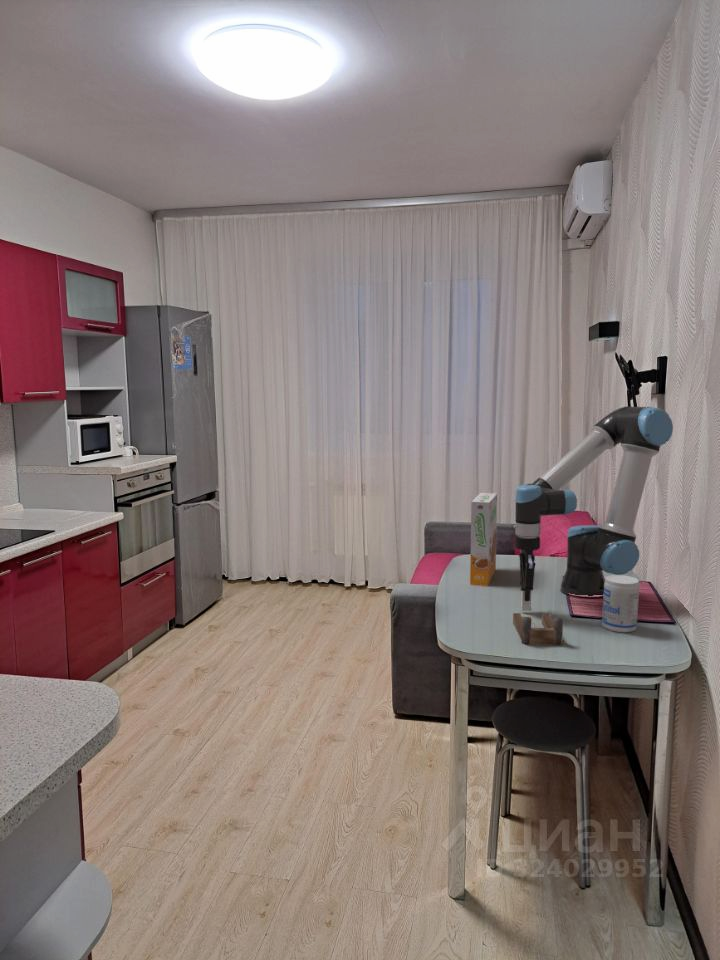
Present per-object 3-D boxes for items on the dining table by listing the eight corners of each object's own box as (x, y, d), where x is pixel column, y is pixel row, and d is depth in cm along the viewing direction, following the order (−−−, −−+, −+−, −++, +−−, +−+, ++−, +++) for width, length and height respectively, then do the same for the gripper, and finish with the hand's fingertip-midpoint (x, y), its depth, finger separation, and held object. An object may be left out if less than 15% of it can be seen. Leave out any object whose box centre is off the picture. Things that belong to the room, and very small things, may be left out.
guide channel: (549, 623, 207) (549, 600, 206) (563, 645, 189) (563, 620, 188) (512, 622, 207) (512, 600, 207) (522, 644, 190) (523, 619, 189)
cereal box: (487, 585, 247) (489, 502, 243) (470, 584, 248) (471, 501, 245) (495, 570, 268) (497, 493, 264) (479, 569, 270) (480, 492, 266)
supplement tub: (595, 627, 203) (597, 578, 201) (611, 620, 210) (613, 572, 208) (627, 636, 196) (630, 585, 194) (642, 628, 202) (645, 578, 201)
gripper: (511, 531, 220) (510, 603, 223) (519, 540, 207) (517, 616, 210) (535, 531, 220) (533, 603, 223) (544, 540, 207) (542, 616, 210)
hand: (526, 609), depth 217 cm, fingers closed
